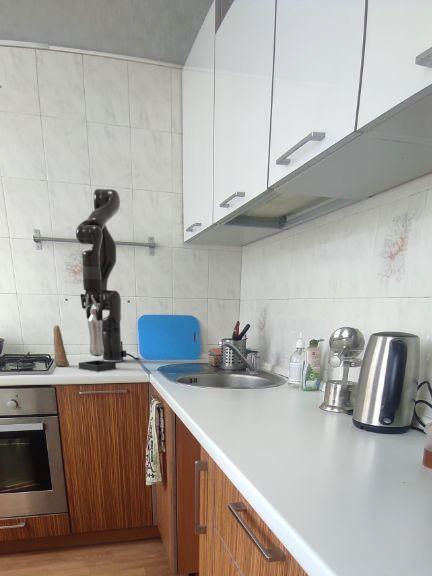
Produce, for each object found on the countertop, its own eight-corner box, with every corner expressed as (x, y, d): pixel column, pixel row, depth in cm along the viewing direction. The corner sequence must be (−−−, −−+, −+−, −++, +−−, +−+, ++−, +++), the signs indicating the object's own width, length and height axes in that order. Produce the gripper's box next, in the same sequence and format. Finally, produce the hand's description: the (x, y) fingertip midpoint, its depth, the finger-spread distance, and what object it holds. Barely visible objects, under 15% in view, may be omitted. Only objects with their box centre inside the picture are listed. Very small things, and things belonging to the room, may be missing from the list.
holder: (98, 365, 220) (98, 360, 219) (116, 368, 214) (115, 362, 213) (79, 368, 211) (78, 362, 210) (96, 371, 205) (96, 365, 204)
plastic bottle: (91, 357, 206) (88, 309, 199) (88, 355, 212) (84, 308, 204) (106, 356, 209) (103, 309, 201) (102, 355, 214) (99, 308, 207)
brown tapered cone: (68, 366, 220) (54, 366, 217) (62, 326, 215) (48, 326, 212) (70, 365, 214) (57, 366, 212) (64, 324, 210) (50, 325, 207)
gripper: (110, 278, 197) (112, 320, 204) (87, 278, 205) (89, 318, 211) (97, 278, 192) (99, 321, 198) (73, 277, 199) (76, 319, 205)
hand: (94, 319), depth 205 cm, fingers closed on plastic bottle, 6 cm apart
